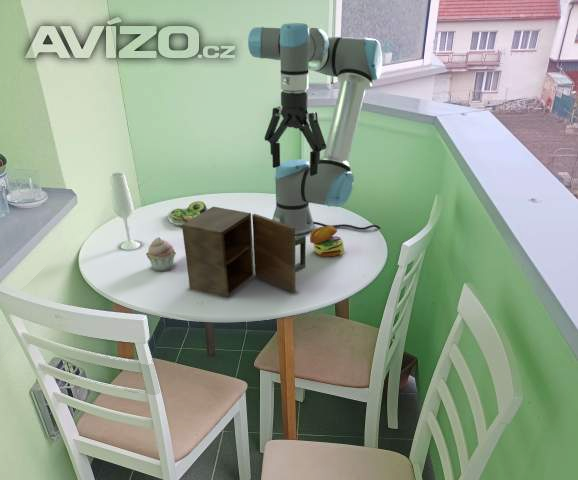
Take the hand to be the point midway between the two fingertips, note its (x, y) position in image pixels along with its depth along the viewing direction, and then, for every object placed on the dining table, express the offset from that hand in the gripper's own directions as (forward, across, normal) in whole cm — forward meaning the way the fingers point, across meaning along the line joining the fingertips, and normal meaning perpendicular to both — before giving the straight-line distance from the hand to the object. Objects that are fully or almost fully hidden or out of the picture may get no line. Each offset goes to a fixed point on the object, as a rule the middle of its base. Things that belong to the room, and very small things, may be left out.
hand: (294, 170), depth 167 cm
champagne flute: (+29, -53, -23) cm, 65 cm away
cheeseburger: (+29, +5, +12) cm, 32 cm away
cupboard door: (+29, +5, -14) cm, 32 cm away
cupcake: (+29, -32, -28) cm, 51 cm away
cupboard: (+29, -9, -25) cm, 39 cm away
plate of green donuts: (+29, -54, +7) cm, 62 cm away
